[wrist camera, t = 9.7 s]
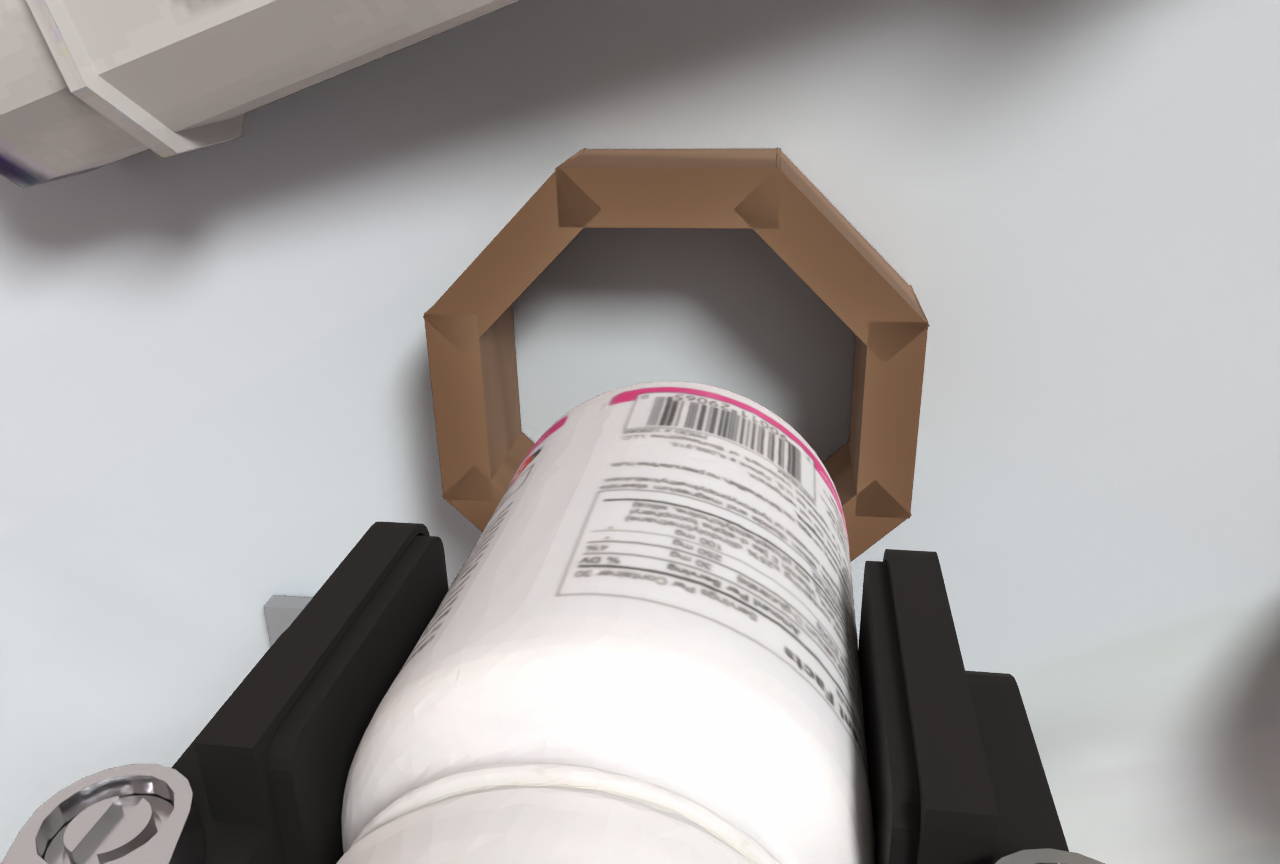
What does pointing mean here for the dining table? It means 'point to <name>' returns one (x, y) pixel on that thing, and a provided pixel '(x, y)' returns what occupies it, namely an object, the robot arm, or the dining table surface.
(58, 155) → the white electric toothbrush
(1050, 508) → the dining table surface
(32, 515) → the dining table surface
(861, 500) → the sleeve
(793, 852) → the pill bottle
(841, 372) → the dining table surface
